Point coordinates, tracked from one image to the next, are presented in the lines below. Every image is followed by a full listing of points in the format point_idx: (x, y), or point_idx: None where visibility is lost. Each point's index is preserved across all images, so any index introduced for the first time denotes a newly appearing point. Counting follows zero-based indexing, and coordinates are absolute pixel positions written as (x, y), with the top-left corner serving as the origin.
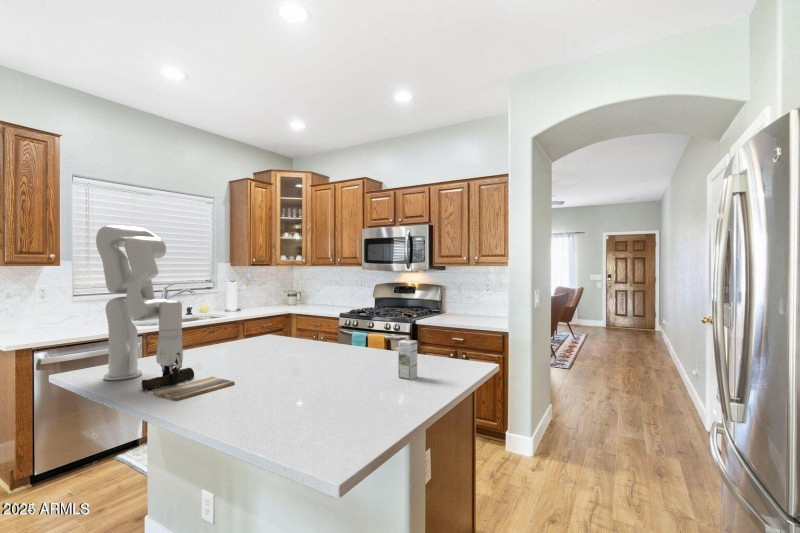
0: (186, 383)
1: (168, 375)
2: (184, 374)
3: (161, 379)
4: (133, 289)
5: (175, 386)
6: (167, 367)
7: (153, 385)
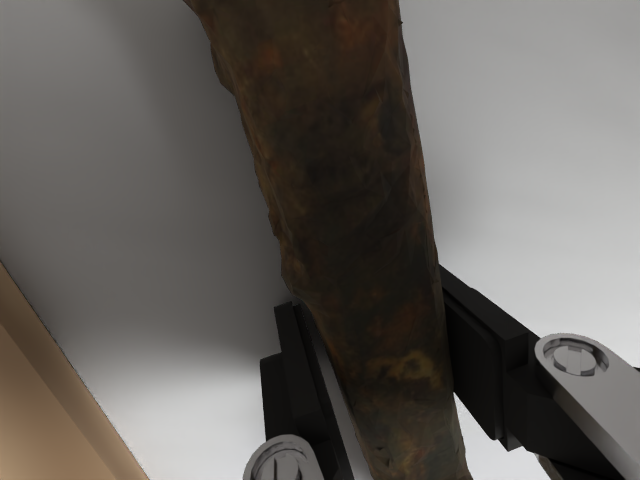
0: (105, 468)
1: (382, 374)
2: None
3: (292, 248)
4: None
5: (1, 355)
6: (604, 462)
7: (232, 92)
